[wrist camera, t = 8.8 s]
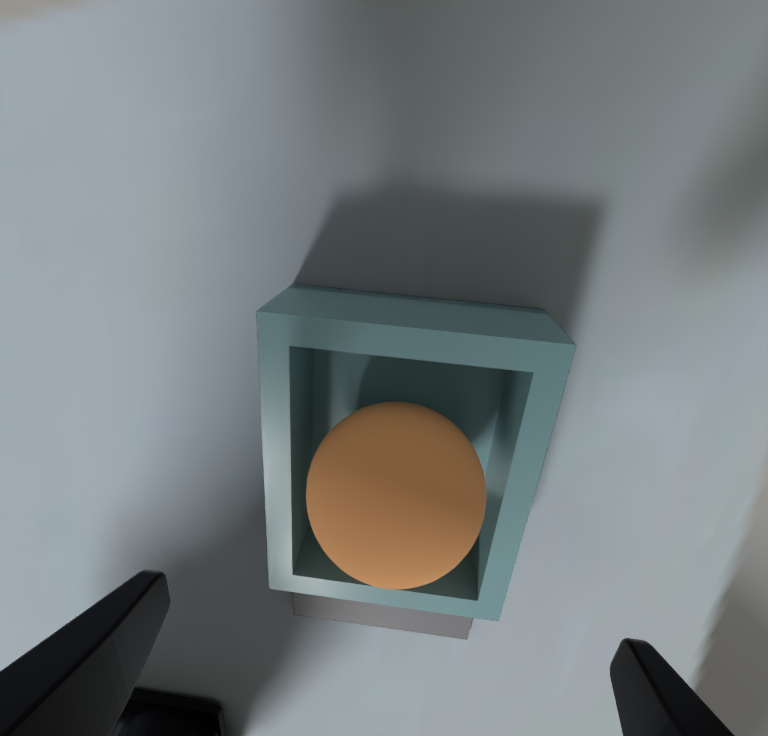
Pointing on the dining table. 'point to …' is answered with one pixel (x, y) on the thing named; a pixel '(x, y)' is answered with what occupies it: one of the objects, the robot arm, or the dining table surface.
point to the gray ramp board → (382, 616)
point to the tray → (414, 385)
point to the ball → (396, 495)
